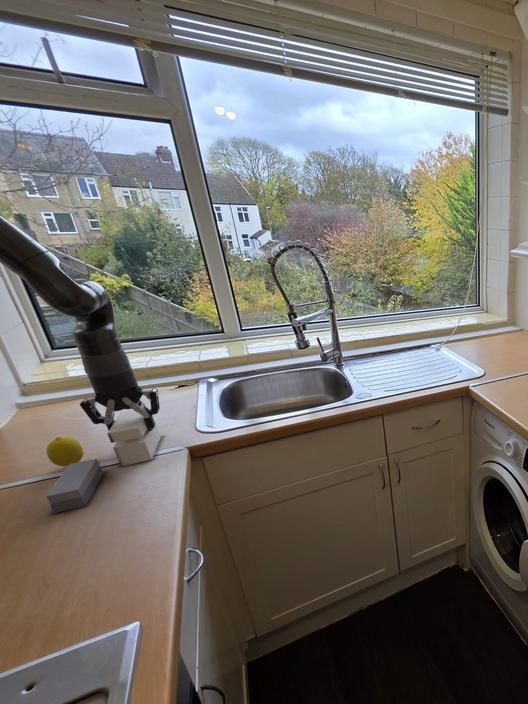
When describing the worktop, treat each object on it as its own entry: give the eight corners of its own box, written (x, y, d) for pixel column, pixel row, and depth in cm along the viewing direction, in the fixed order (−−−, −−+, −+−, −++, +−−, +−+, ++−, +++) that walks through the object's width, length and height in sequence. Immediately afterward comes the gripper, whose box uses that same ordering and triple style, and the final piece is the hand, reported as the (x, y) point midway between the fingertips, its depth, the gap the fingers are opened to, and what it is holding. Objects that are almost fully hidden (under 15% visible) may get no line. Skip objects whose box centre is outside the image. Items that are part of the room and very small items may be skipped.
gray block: (54, 513, 81) (45, 497, 80) (76, 478, 92) (69, 463, 90) (85, 506, 84) (77, 490, 82) (103, 472, 94) (96, 458, 92)
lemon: (82, 457, 99) (68, 429, 96) (93, 463, 97) (79, 434, 94) (51, 469, 95) (35, 439, 91) (61, 476, 92) (46, 446, 89)
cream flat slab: (111, 443, 94) (106, 433, 93) (124, 421, 103) (120, 412, 102) (142, 437, 96) (138, 427, 95) (152, 416, 106) (149, 407, 105)
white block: (121, 466, 96) (113, 447, 94) (133, 442, 106) (126, 425, 104) (151, 459, 99) (144, 441, 97) (160, 437, 108) (154, 420, 106)
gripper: (152, 359, 100) (173, 419, 107) (72, 369, 93) (100, 432, 100) (145, 369, 94) (168, 432, 101) (60, 380, 87) (90, 447, 94)
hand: (134, 432), depth 100 cm, fingers closed on cream flat slab, 5 cm apart
